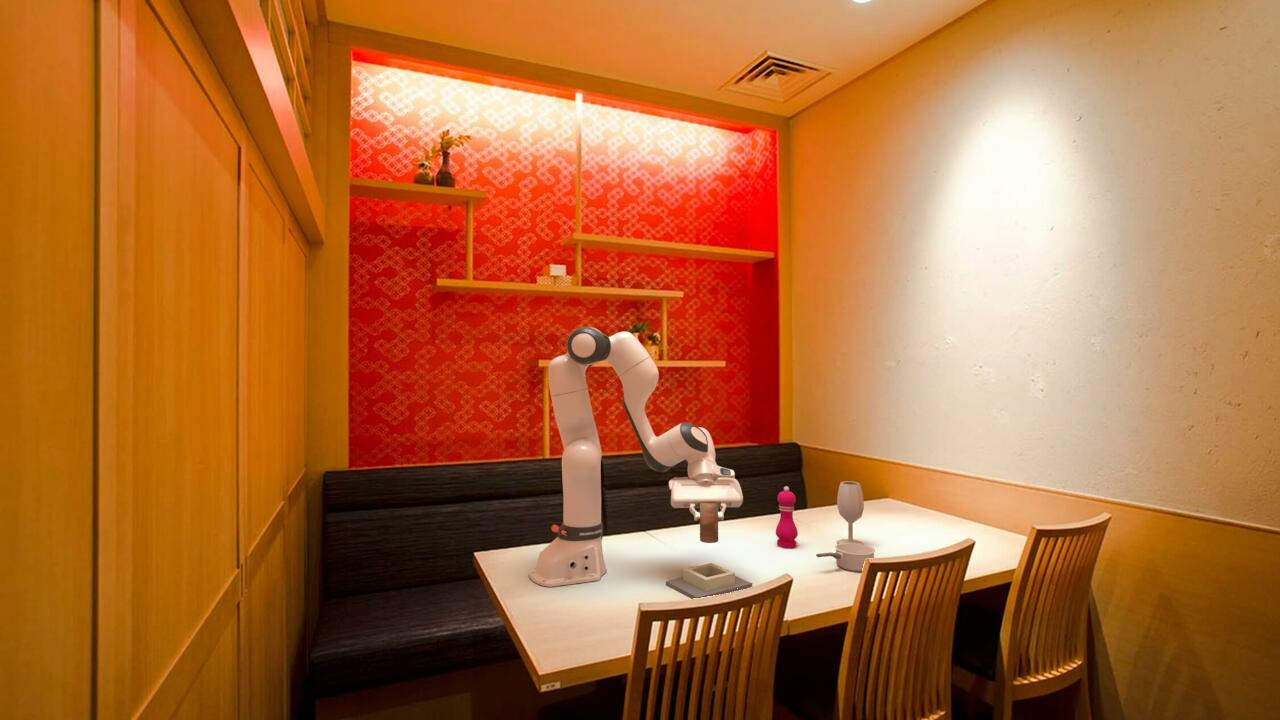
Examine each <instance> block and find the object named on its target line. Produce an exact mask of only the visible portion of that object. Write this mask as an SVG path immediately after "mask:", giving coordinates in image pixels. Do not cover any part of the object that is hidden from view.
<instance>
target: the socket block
mask: <svg viewBox="0 0 1280 720" xmlns="http://www.w3.org/2000/svg"><path fill="white" fill-rule="evenodd" d="M682 572H683V573H682V574H683V575H682V577H679V578H678V577H677V578H674V579H670V580H665V585H666V586H667V585H668V586H667V587H669V586H670V587H669V588H671V589H673V590H674V591H677V592H678V593H680V594H683V595H685V596H686V597H689V598H690V599H692V600H694V599H693V598H701V597H707V596H713V595H719V594H724V593H728V592H731V593H733V592H732V591H735V592H737V591H736V590H739V591H742V590H741V589H743V590H746V589H749V588H748V587H750V588H752V587H753V582H750V581H748V580H746V579H743V578H741V577H739V576H736V573H735V572H734V571H732V570H729V569H726V568H724V567H722V566H719V565H716V564H715V563H712V562H710V563H706V564H702V565H697V566H693V567H688V568H683V569H682ZM751 586H752V587H751ZM737 588H738V589H737ZM745 588H746V589H745ZM728 594H729V593H728ZM724 595H725V594H724Z"/></svg>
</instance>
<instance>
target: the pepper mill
mask: <svg viewBox="0 0 1280 720" xmlns="http://www.w3.org/2000/svg"><path fill="white" fill-rule="evenodd" d="M776 498H777V502H778V503H779V504H778V507H779V508H778V510H780V517H779V521H778V523H777V525H776V528H775V536H776V537H777V541H776V545H777V547H778V548H781V547H782V549H787V548H790V549H795V548H796V547H797V541H796V538H797V537H798V534H799V533H798V528H797V525H796V524H795V521H794V517H793V513H794V511H795V505H794V504H795V503H796V501H797V499H796V495H795V494H794V493H793V492H792V491H790V488H789V486H787V485H786V486H784V487H783V490H782V491H780V492H778V494H777V497H776Z"/></svg>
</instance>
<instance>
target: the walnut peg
mask: <svg viewBox="0 0 1280 720" xmlns="http://www.w3.org/2000/svg"><path fill="white" fill-rule="evenodd" d="M699 512H700V517H701V519H700V521H699V540H700V541H699V542H702V543H705V544H706V543H707V544H716V543H718V542H719V520H718V512H719V507H718V503H715V502H702V503H700V508H699Z"/></svg>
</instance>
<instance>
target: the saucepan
mask: <svg viewBox="0 0 1280 720" xmlns="http://www.w3.org/2000/svg"><path fill="white" fill-rule="evenodd" d="M834 548H835V551H836V552H821V553H816V555H815V556H816V557H817V558H825V557H832V558H834V559H836V560H835V563H836V564H837V565H838V566H839V567H841V568H842V569H844V570H846V569H847V571H850V570H851V572H859V571H860V572H863V571H862V568H863V564H864V561H865V559H866V558H874V559H875V553H876V549H875V548H873V547H872V546H868V545H867V544H865V545H861V544H853V543H843V544H838V543H837V544H836V545H835V546H834Z"/></svg>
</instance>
